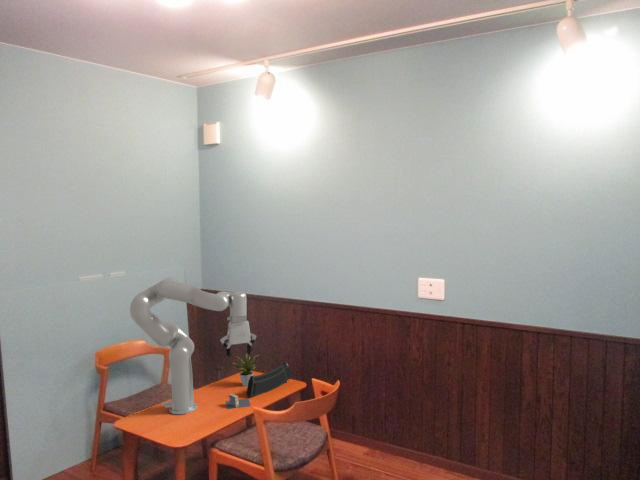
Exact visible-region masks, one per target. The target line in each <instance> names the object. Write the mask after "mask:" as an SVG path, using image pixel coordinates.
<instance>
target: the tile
mask: <svg viewBox="0 0 640 480" xmlns="http://www.w3.org/2000/svg"><path fill="white" fill-rule="evenodd" d="M228 397H229V398H228V399H229V400H228V401H230V405H231V406H233V407H239V402H238V400H239V395H236V394H235V393H230V394H228Z"/></svg>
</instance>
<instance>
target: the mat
mask: <svg viewBox="0 0 640 480" xmlns="http://www.w3.org/2000/svg"><path fill="white" fill-rule="evenodd" d="M238 402H239V407H233V406H231V405H230V401H229V400H225V405H226V410H234V409H239V408H240V409H241V408H248V407H252V406H251V402H250V399H249V397H248V398H242V399H238Z"/></svg>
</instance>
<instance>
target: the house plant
mask: <svg viewBox="0 0 640 480" xmlns="http://www.w3.org/2000/svg"><path fill="white" fill-rule="evenodd" d="M248 356H249V355H248V353H246V354H245V358H244V359H245V360H244V359H243V358H242V357H240V356H236V358H238V359H239V360H240V361H238V359H235V361H237V362H238V363H239V364H238V363H235V362H232V365H235V367H234V368H233V369H239V370H241V372H240V373H239V376H240V382H241V385H242V387H248V381H249V379H250V376H254V372H253V371H252V370H253V369H254V370H255V368H256V366H257V365H256V364H253V363H254V362H255V360H256V359H257V357H258V356H259V354H258V355H255V356H254V355H252V356H249V357H248Z"/></svg>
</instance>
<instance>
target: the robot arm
mask: <svg viewBox="0 0 640 480" xmlns="http://www.w3.org/2000/svg"><path fill="white" fill-rule="evenodd" d="M166 299H167V300H172V301H178V302H181V303H187V304H191V305H192V306H195V307H198V308H201V309H205V310H211V311H216V312H223V311H225V310H226V309H228V307H229V311H230V312H229V313H230V314H229V316H228V317H227V318H226V319H227V321H229V322H228V326H227V333H226V334H227V335H225V336H222V337H221V338H220V339H219V341H220V343H221V345H222V346H223V347H225V354H226V356H227V357H228V358H230V357H231V355H232V354H231V353H232V352H231V346H232V345H233V346H234V345H242V344H246V354H247V355H251V352H252V346H253V344H254V343H255V341H256V339H257V337H258V336H257V334H254V333H252V332H251V329H250V322H249V320H247V317H248V316H247V312H248V311H247V307H248V306H247V302H248V300H247V294H246V293H245V292H244V291H243V292H242V291H234V292H232V291H231V292H230V291H225V290H224V291H218V292H217V293H211V292H207V291H205V290H202V289H200V288H199V287H197V286H196V285H194V284H192V283H187V282H181V281H178V280H176V279H175V278H174V277H166V278H164V279H161V280H160V281H159V282H157V283H156V284H154V285H151V286H150V287H148V288H147V289H145V290H143V291H141V292H139V293H138V294H136V295H135V296H134V297H133V299H132V301H131V302H130V306H129V314H130V317H131V319H132V320H133V322H134V323H135V324H136V325H137V326H138V327H139V328H141V330H142V331H144V333H146V335H147V336H148V337H149V338H150V339H151V340H153V342H155V344H156V345H158V346H159V347H165V348H166V347H168V346H169V347H170V349H169V352H168V353H169V354H168V359H169V360H168V361H169V367H170V381H171V400H169V401H164V402H162V407H163V408H165V409H167V408H169V409H168V410H169V413H170V414H173V415H186V414H190V413H193V412H194V411H196V410H197V409H198V404H197V403H196V402H194V401H195V399H194V381H193V367H192V358H191V357H192V355H193V353H194V352H195V343H194V340H192V339H191V338H190V337H189V336H188V334H186V333H185V332H184V331H183V330H182V329H181V328H180V327H179V326H178V325H177V324H175V323H174V322H170V321H166V322H165V321H164V322H163V321H162V319H160V317H158V316H157V314H154V312H152V311H151V308H153V307H155V306H156V305H157V304H159V303H161V302H162V301H164V300H166ZM251 337H252V338H251ZM226 340H227V342H225V341H226Z"/></svg>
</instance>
